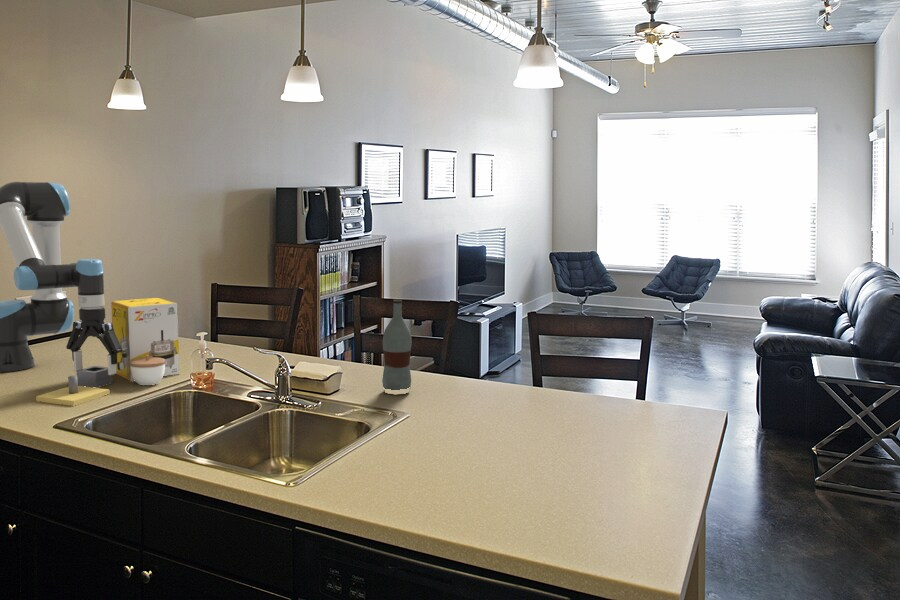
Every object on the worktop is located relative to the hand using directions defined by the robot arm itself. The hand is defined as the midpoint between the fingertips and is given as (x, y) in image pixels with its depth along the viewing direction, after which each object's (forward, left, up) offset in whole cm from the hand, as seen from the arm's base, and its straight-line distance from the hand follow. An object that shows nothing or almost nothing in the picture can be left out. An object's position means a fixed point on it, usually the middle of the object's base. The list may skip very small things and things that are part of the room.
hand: (95, 372), depth 239 cm
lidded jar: (+15, +7, -4) cm, 17 cm away
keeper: (+6, -15, -4) cm, 16 cm away
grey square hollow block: (0, 0, -4) cm, 4 cm away
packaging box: (+5, +18, -4) cm, 19 cm away
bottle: (+94, +28, -4) cm, 98 cm away
